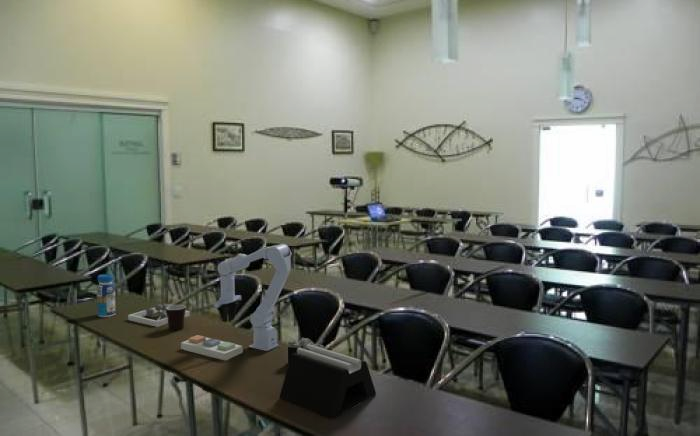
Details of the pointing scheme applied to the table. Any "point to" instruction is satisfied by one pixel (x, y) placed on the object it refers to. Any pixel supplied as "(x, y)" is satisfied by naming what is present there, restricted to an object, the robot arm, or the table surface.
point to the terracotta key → (197, 339)
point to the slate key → (211, 342)
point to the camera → (299, 346)
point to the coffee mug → (176, 317)
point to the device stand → (326, 381)
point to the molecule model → (158, 307)
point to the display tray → (139, 318)
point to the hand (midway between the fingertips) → (228, 320)
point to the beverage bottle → (106, 296)
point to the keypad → (211, 350)
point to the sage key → (226, 346)
